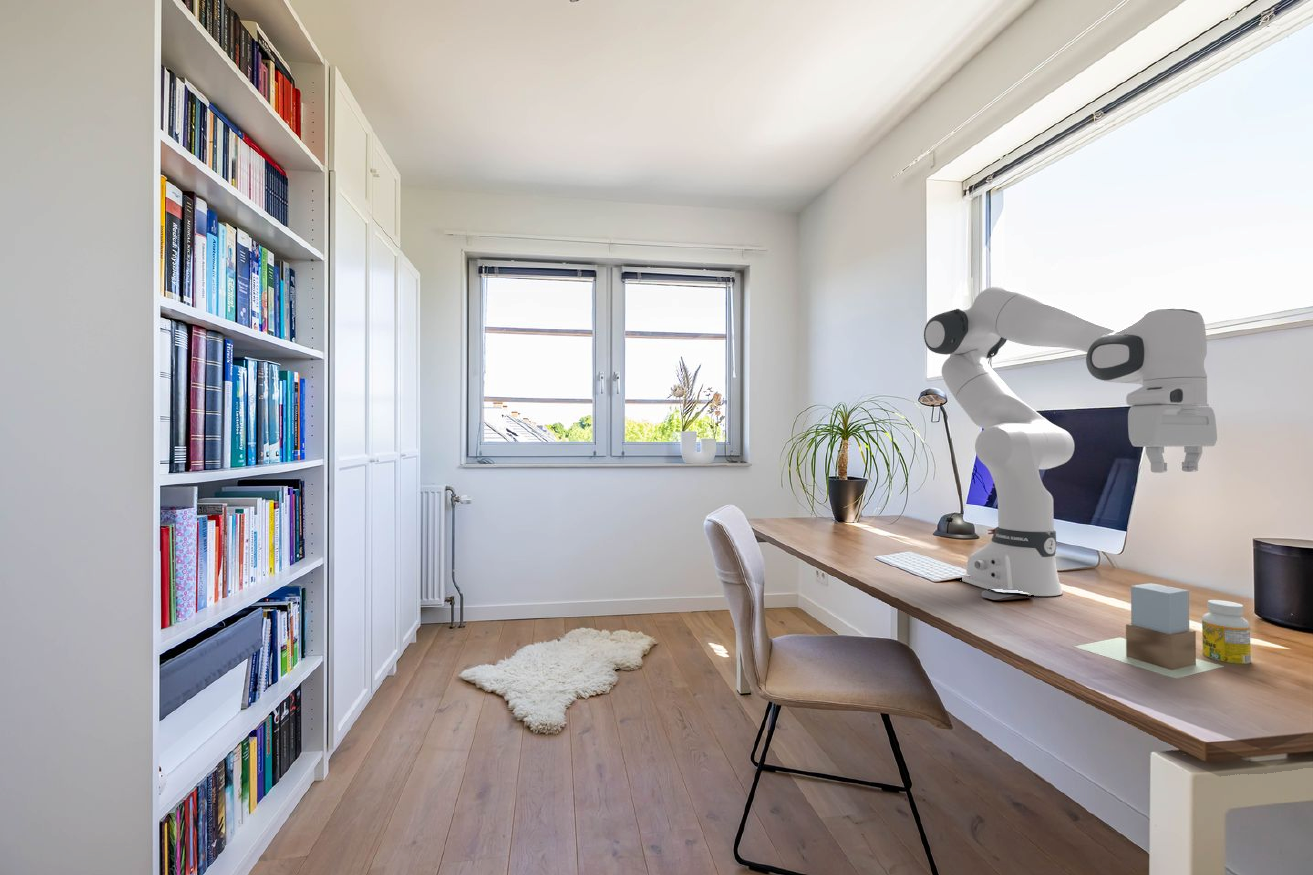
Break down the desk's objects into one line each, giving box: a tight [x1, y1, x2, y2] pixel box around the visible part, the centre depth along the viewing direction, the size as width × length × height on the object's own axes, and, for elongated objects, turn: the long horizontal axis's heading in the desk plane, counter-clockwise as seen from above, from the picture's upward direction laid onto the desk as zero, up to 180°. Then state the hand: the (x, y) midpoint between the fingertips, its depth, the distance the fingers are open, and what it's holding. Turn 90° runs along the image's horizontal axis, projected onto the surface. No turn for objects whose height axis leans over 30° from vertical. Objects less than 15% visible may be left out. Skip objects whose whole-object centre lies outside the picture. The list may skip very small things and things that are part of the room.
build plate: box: [1073, 637, 1225, 680], centre depth 92 cm, size 14×12×1 cm
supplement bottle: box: [1201, 599, 1252, 665], centre depth 91 cm, size 5×5×10 cm
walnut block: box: [1125, 622, 1197, 670], centre depth 90 cm, size 6×6×5 cm
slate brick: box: [1130, 582, 1190, 634], centre depth 90 cm, size 5×5×6 cm
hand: (1174, 472), depth 106 cm, fingers open, 8 cm apart
